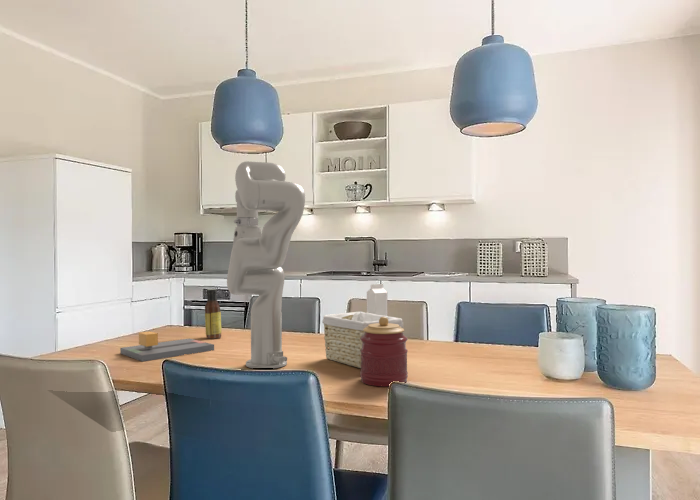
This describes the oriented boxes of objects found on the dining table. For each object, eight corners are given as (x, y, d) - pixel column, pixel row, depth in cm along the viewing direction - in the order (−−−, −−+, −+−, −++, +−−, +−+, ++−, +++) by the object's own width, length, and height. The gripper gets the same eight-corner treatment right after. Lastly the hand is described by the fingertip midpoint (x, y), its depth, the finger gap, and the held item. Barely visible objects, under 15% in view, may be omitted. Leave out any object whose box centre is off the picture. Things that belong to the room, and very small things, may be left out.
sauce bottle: (223, 336, 214) (223, 288, 214) (218, 339, 208) (218, 289, 208) (208, 336, 215) (208, 288, 215) (202, 339, 209) (202, 289, 209)
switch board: (214, 350, 186) (214, 344, 186) (142, 361, 168) (142, 355, 168) (189, 343, 199) (189, 338, 199) (120, 353, 180) (120, 347, 180)
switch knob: (157, 348, 177) (157, 333, 177) (146, 349, 175) (146, 334, 175) (150, 345, 182) (150, 331, 182) (138, 347, 179) (138, 332, 179)
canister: (404, 375, 149) (404, 313, 149) (411, 387, 136) (410, 319, 136) (359, 375, 148) (358, 313, 148) (361, 387, 135) (361, 320, 135)
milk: (366, 339, 207) (366, 284, 207) (379, 338, 210) (378, 283, 210) (375, 341, 201) (374, 284, 201) (388, 340, 205) (387, 284, 205)
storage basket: (320, 358, 172) (320, 314, 172) (360, 352, 181) (360, 310, 181) (363, 372, 152) (363, 322, 152) (405, 365, 162) (405, 317, 161)
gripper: (235, 222, 178) (235, 275, 179) (270, 223, 189) (270, 273, 189) (223, 223, 184) (223, 274, 184) (258, 224, 194) (258, 273, 194)
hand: (247, 274), depth 186 cm, fingers closed
